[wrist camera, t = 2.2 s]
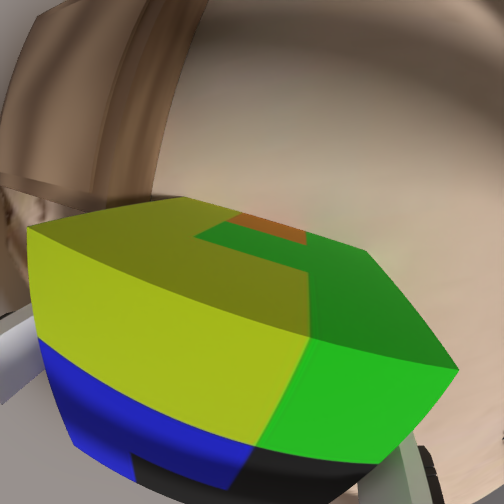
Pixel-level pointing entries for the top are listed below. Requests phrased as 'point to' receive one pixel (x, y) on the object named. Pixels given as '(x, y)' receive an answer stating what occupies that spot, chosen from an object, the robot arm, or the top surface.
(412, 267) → the top surface
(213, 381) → the puzzle toy
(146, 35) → the plinth
